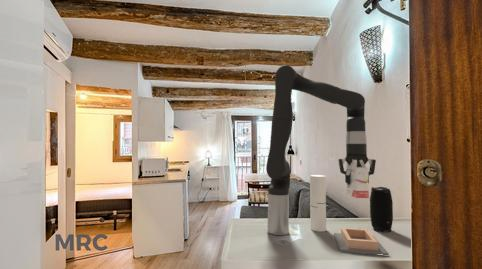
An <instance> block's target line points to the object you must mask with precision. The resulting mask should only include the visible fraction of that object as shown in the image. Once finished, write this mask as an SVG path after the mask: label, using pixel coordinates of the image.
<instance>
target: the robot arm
mask: <svg viewBox="0 0 482 269" xmlns="http://www.w3.org/2000/svg"><path fill="white" fill-rule="evenodd" d="M274 78H275V79H274V82H275V83H274V84H275V85H274V86H275V87H274V89H275V90H274V102H273V111H272V118H271V127H270V128H271V130H270V141H269V150H268V156H267V159H266V160H267V162H266V166H265V168H266V169H265V171H266V174H267V176H268V177H269V178H270V183H269V186H268V189H267V190H268V195H267V198H268V199H267V200H268V202H267V234H271V235H275V236H285V235H288V234H289V232H290V230H289V229H290V221H289V220H290V218H289V217H290V216H289V215H290V209H289V208H290V206H289V204H290V200H289V198H290V197H289V196H290V195H289V192H290V188H291V166H290V163H289V162H288V161H287V160H286V150H287V146H288V143H289V140H290V137H291V134H292V131H293V122H294V121H293V119H294V114H293V113H294V112H293V105H292V104H293V103H292V90H294V91H298V92H301V93H305V94H308V95H311V96H312V97H315V98H317V99H319V100H323V101H325V102H327V103H330V104H333V105H340V106H342V107H344V108H346V117H347V119H346V122H345V123H346V125H345V127H346V136H345V147H346V148H345V151H346V152H345V158H338V159H337V161H338V162H337V163H338V166H339V171H340V174H343V175H344V176H345V178H344V182H345V183H346V185H347V184H348V185H350V176H349V174H350V172H351V170H352V165H353V160H357V167H365V168H367V166H366V164H367V163H368V164H369V168H368V185H369V183H370V182H369V181H370V180H369V178H370V176H371V175H372V176H373V175H374V174H375V168H376V163H377V160H376V159H373V158H372V159H371V158H368V151H367V150H368V149H367V146H368V145H367V134H366V133H367V132H366V119H365V106H366V100H365V96H364V95H363V94H361V93H359V92H355V91H353V90H348V89H344V88H341V87H338V86H335V85H333V84H329V83H326V82H322V81H316V80H313V79H309V78H307V77H304V76H303V75H301V74H299V73H298V72H297V71H296V70H295V69H294V68H293V67H292V66H290V65H288V64H283V65H281V66H280V67H278V68H277V70H276V72H275V77H274ZM345 163H346V164H347V163H348V164H349V165H348V167H347V170H345V168H344V164H345Z"/></svg>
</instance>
